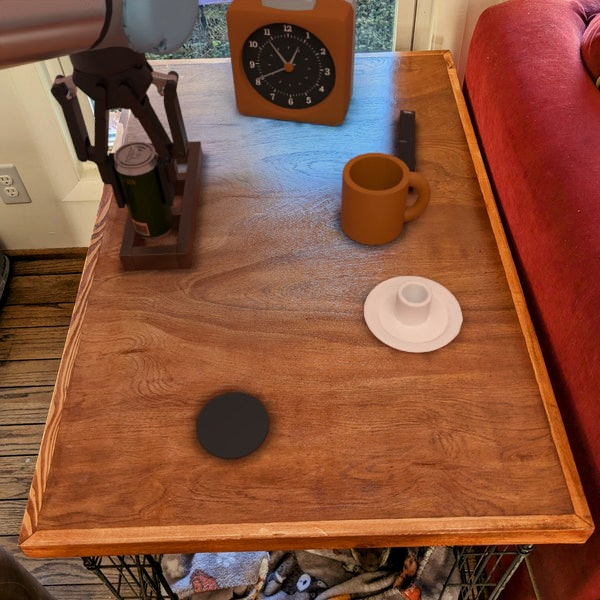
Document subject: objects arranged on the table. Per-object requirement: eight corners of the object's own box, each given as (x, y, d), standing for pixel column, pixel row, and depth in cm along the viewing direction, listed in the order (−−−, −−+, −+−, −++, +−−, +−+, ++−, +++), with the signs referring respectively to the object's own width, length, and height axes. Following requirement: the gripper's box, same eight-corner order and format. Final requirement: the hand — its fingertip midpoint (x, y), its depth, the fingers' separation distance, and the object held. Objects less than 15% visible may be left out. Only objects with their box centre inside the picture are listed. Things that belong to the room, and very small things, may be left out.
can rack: (124, 271, 84) (118, 255, 82) (146, 159, 99) (142, 143, 97) (191, 268, 84) (187, 253, 82) (203, 156, 99) (200, 141, 97)
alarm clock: (235, 116, 106) (221, -7, 90) (250, 87, 111) (238, -34, 95) (343, 129, 103) (348, 4, 87) (353, 98, 108) (358, -25, 92)
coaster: (217, 473, 66) (217, 471, 65) (184, 416, 70) (183, 414, 70) (282, 435, 68) (282, 433, 68) (246, 382, 73) (246, 380, 72)
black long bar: (413, 195, 92) (415, 179, 90) (395, 194, 92) (397, 178, 90) (414, 123, 103) (416, 107, 101) (398, 122, 103) (400, 106, 101)
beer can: (165, 244, 82) (146, 171, 72) (127, 238, 83) (103, 165, 73) (180, 216, 85) (164, 143, 76) (143, 210, 86) (123, 137, 77)
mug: (425, 250, 85) (435, 200, 78) (337, 243, 86) (339, 193, 79) (426, 205, 91) (435, 155, 84) (343, 199, 92) (345, 149, 85)
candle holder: (480, 330, 76) (488, 308, 73) (398, 371, 73) (402, 350, 70) (423, 267, 83) (428, 244, 80) (345, 301, 80) (346, 279, 76)
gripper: (194, 1, 65) (220, 179, 83) (15, 7, 65) (80, 183, 82) (188, 38, 60) (217, 218, 78) (-5, 44, 60) (68, 223, 78)
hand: (147, 200), depth 80 cm, fingers closed on beer can, 5 cm apart
